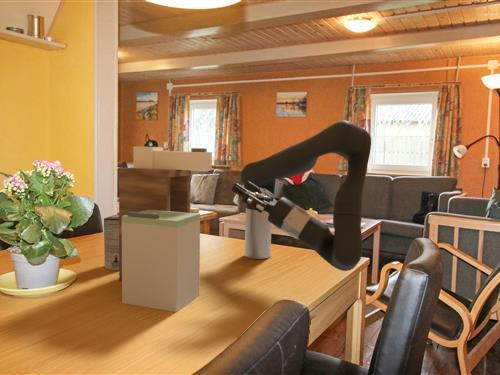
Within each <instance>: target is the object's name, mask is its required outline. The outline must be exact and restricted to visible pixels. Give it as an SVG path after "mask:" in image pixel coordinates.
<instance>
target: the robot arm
mask: <svg viewBox="0 0 500 375" xmlns="http://www.w3.org/2000/svg"><path fill="white" fill-rule="evenodd" d="M371 149H372V137H371V134H370V133H369V132H368V131H367V130H366V129H365V128H362V127H361V126H359V125H357V124H355V123H353V122H351V121H349V120H339V121H337V122H334V123H333V124H331V125H328V127H326V128H324V129H322V130H321V131H319V132H318V133H316V134H314V135H313V136H311V137H309V138H306V139H304V140H302V141H301V142H298V143H295V144H293V145H291V146H288V147H286V148H284V149H282V150H280V151H278V152H276V153H273V154H272V155H270V156H268V157H266V158H264V159H260V160H257V161H253V162H249V163H247V164H246V165H244V166H243V168H242V169H241V173H240V181H241V184H242V185H243V186H242V185H241V184H239V183H238V182H237V183H234V184H233V185H232V187H231V191H232V192H234V193H235V194H236V195H238V196H239V197H241V202H242V203H244V204H245V223H244V224H245V225H244V226H245V228H244V257H245V258H248V259H253V260H263V259H269V258H270V257H271V253H272V252H271V251H272V250H271V247H272V225H273V226H275V227H276V228H277V229H280V230H281V231H282V232H283V233H285V234H287V235H288V236H290V237H292V238H294V239H296V240H297V241H299V242H301V243H302V244H303V245H305V246H307V247H308V248H310V249H312V250H313V251H314V252H315V253H316V254H317V255H318V256H320V257H321V258H322V259H323V260H324V261H326V263H328V264H329V265H330V266H332V267H334V268H335V269H336V270H339V271H342V272H349V271H352V270H353V269H354V268H355V267H356V266H357V265H358V264H359V262H360V261H361V259H362V256H363V237H362V227H361V226H362V208H363V207H362V205H363V204H362V202H363V190H364V185H365V180H366V175H367V170H368V164H369V160H370V154H371ZM327 154H336V155H338V156H340V157H342V158H344V159H346V160H347V173H346V176H345V179H344V180H343V182H342V183H341V185H340V187H339V188H338V189H337V192H336V193H335V197H334V200H333V215H332V216H333V217H332V226H333V229H334V230H333V233H332V232H331V230H330V228H329V226H327V225H326V224H325V223H323V222H322V221H320V220H319V219H317V218H316V217H315V216H312V215H311V214H310V213H309V212H308V211H307V210H305V209H304V208H302V207H300V206H299V205H297V204H296V203H294V202H293V201H291V200H290V199H288V198H286V197H284V196H283V197H278V196H276V194H275V192H276V191H275V190H276V189H275V188H276V180H281V179H288V178H293V177H297V176H300V175H303V174H305V173H308V172H310V171H311V170H312V169H313V168H314V167H315V166H316V164H317V162H318V160H319V158H320V157H322V156H324V155H327Z"/></svg>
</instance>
